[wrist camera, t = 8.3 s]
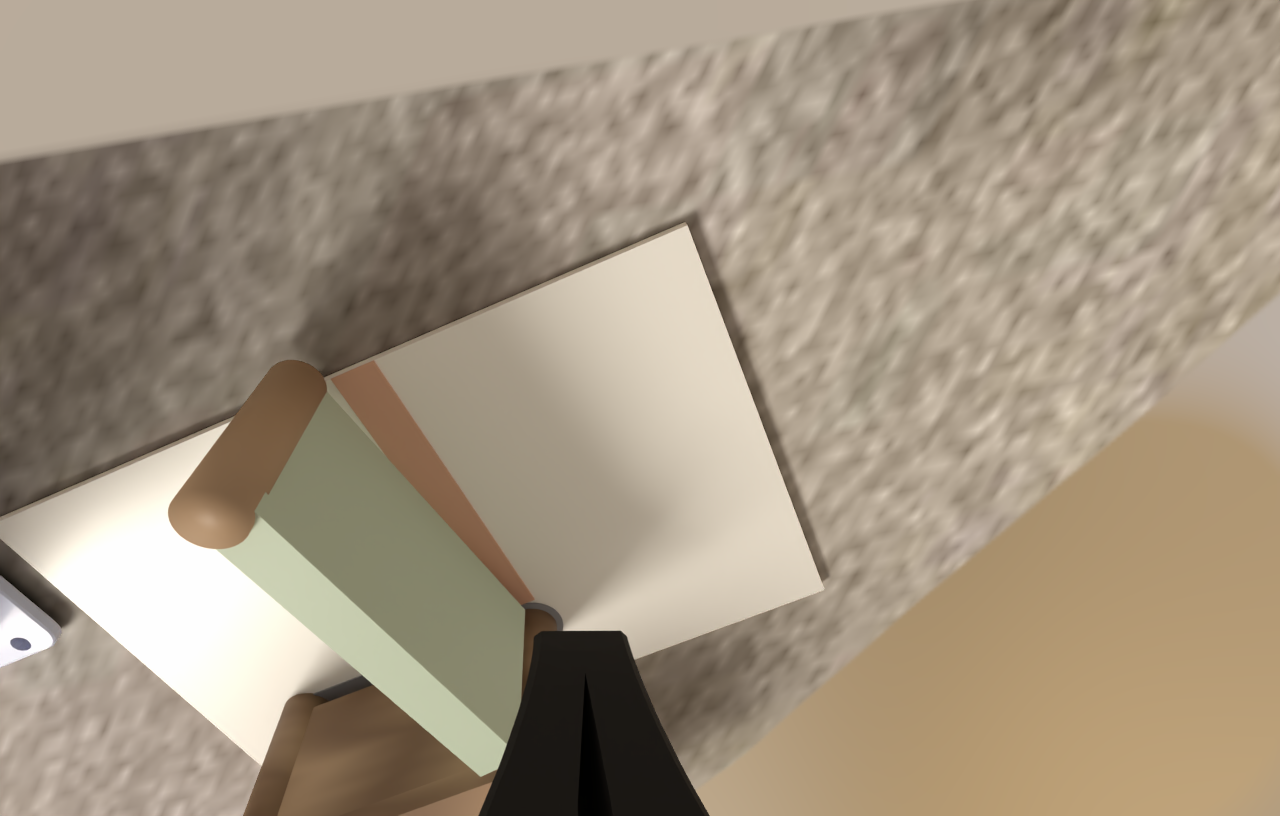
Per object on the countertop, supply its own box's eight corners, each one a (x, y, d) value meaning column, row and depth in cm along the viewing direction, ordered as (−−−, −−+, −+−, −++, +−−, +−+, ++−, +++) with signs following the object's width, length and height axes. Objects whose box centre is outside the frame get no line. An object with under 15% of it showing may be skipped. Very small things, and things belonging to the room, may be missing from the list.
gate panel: (530, 606, 22) (525, 763, 18) (491, 626, 22) (476, 786, 18) (299, 350, 17) (211, 475, 13) (252, 377, 18) (149, 510, 13)
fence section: (306, 723, 25) (235, 934, 19) (276, 696, 24) (194, 907, 18) (565, 626, 24) (568, 819, 18) (543, 593, 23) (540, 785, 17)
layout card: (289, 779, 26) (285, 789, 26) (-6, 519, 20) (-16, 528, 19) (821, 583, 24) (825, 591, 24) (685, 221, 18) (687, 225, 17)
